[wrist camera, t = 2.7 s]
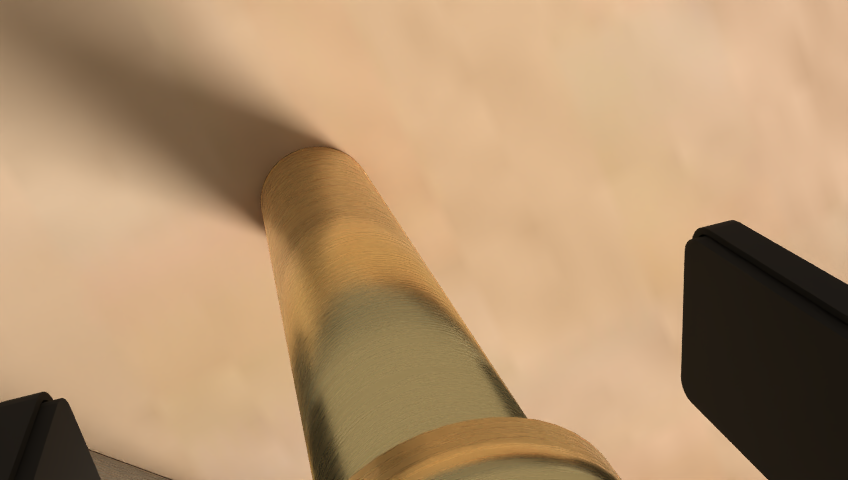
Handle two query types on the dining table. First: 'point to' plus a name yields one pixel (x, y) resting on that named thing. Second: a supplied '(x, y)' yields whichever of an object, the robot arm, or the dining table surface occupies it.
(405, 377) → the hinge pin
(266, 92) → the dining table surface
